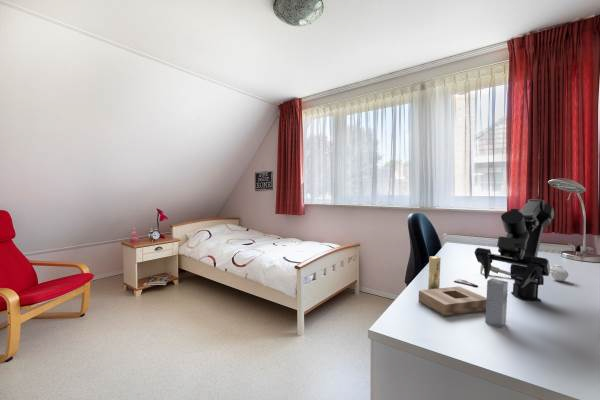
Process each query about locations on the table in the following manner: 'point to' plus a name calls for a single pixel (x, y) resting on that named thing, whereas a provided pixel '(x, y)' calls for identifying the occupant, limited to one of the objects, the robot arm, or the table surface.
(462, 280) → the usb flash drive
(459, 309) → the bore block
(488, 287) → the grey rectangular block
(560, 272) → the crumpled paper ball
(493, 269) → the caliper
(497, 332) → the table surface
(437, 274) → the brass pin
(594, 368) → the table surface
